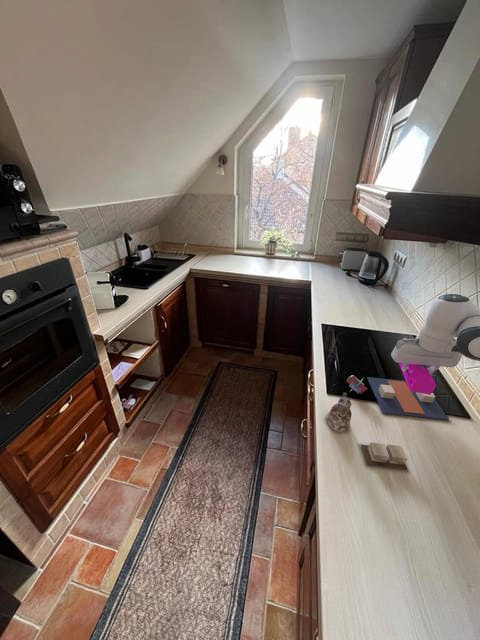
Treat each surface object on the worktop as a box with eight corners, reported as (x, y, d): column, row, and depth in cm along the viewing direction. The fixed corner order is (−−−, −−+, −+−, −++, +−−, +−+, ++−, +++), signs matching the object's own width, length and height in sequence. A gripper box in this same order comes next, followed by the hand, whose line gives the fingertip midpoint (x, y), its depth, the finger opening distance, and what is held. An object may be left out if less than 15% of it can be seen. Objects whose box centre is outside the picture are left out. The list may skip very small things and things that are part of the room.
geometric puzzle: (373, 388, 98) (364, 370, 97) (367, 399, 93) (358, 379, 93) (355, 389, 103) (347, 372, 102) (348, 399, 98) (340, 380, 98)
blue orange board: (422, 383, 104) (425, 376, 102) (448, 420, 88) (453, 413, 86) (366, 378, 106) (369, 371, 104) (382, 413, 90) (385, 406, 88)
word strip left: (397, 450, 78) (402, 443, 76) (406, 470, 73) (411, 462, 71) (360, 446, 79) (364, 438, 77) (367, 465, 74) (370, 457, 72)
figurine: (325, 426, 85) (332, 401, 79) (328, 411, 91) (335, 386, 84) (347, 435, 82) (357, 409, 76) (349, 418, 88) (358, 394, 82)
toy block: (430, 394, 85) (440, 378, 81) (410, 390, 86) (418, 374, 82) (416, 366, 97) (424, 351, 94) (398, 363, 99) (405, 347, 95)
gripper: (403, 343, 82) (389, 375, 89) (471, 348, 80) (451, 381, 87) (395, 332, 87) (383, 363, 94) (458, 337, 85) (441, 369, 92)
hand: (416, 372), depth 90 cm, fingers closed on toy block, 6 cm apart
